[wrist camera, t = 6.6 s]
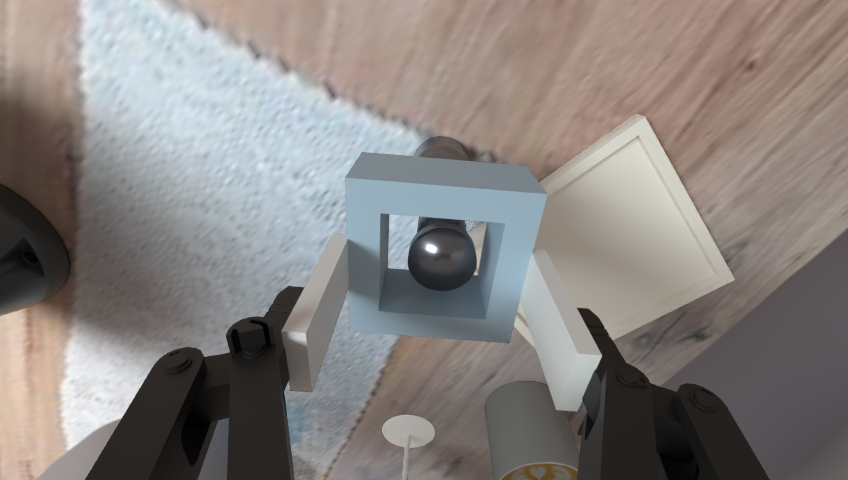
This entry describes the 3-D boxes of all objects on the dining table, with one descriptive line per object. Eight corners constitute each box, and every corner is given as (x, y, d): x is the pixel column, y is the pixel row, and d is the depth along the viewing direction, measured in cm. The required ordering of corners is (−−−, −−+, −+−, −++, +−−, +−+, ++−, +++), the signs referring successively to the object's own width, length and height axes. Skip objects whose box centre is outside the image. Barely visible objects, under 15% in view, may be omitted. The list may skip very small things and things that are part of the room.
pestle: (401, 161, 32) (370, 257, 18) (444, 123, 30) (450, 196, 16) (437, 201, 34) (435, 318, 19) (480, 167, 32) (513, 269, 18)
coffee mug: (509, 371, 44) (527, 451, 36) (577, 395, 46) (609, 478, 37) (460, 431, 50) (464, 512, 42) (521, 450, 52) (538, 533, 43)
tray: (446, 247, 36) (446, 255, 35) (636, 113, 30) (645, 116, 28) (551, 359, 43) (554, 369, 42) (724, 271, 36) (735, 279, 35)
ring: (362, 152, 18) (345, 177, 15) (526, 165, 19) (547, 194, 15) (362, 286, 23) (349, 331, 19) (497, 296, 23) (508, 343, 19)
